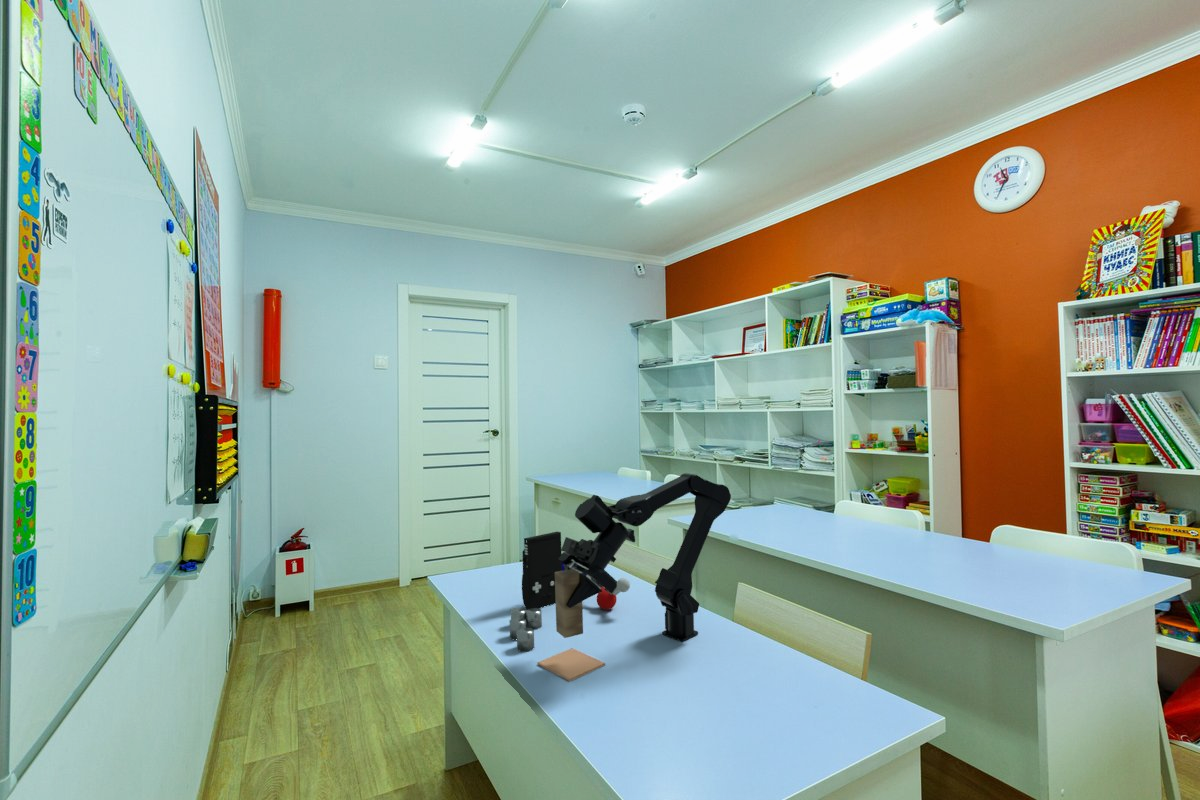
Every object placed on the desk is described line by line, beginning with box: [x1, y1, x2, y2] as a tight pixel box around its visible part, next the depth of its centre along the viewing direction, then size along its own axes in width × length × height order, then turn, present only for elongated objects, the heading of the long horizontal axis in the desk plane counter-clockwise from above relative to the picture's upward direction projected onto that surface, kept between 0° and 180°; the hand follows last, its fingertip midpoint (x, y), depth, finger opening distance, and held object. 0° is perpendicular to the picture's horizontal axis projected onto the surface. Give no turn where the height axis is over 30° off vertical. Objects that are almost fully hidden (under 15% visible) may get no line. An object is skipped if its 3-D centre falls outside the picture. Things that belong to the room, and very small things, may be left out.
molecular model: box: [596, 577, 631, 610], centre depth 157 cm, size 18×6×10 cm, turn 36°
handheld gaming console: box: [521, 531, 563, 610], centre depth 162 cm, size 12×5×20 cm, turn 132°
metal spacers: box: [509, 607, 543, 652], centre depth 139 cm, size 8×18×4 cm, turn 178°
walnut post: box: [555, 569, 584, 639], centre depth 124 cm, size 4×4×13 cm
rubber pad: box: [536, 647, 606, 682], centre depth 123 cm, size 11×10×1 cm
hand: (563, 603), depth 123 cm, fingers closed on walnut post, 4 cm apart
